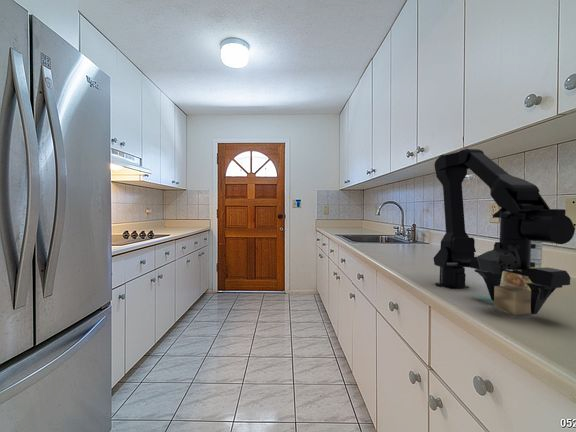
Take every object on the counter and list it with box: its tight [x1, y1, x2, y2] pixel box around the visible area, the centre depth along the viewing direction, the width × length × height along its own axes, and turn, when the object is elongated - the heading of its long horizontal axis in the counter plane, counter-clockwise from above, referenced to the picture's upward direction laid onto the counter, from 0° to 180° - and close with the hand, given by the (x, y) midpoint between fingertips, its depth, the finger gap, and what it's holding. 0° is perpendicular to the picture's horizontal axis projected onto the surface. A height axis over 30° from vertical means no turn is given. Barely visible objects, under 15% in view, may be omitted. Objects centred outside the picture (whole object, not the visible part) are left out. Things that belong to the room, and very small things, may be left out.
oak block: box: [493, 284, 531, 315], centre depth 67 cm, size 5×5×5 cm
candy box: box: [502, 240, 544, 290], centre depth 87 cm, size 9×4×15 cm, turn 6°
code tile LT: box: [483, 304, 544, 319], centre depth 67 cm, size 8×8×1 cm
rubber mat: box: [473, 294, 494, 305], centre depth 75 cm, size 6×6×1 cm
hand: (512, 306), depth 67 cm, fingers open, 9 cm apart
